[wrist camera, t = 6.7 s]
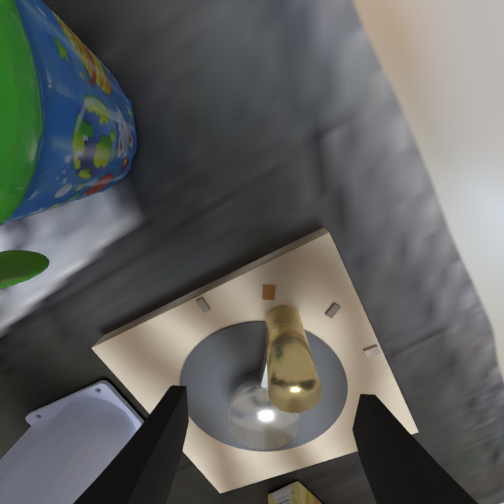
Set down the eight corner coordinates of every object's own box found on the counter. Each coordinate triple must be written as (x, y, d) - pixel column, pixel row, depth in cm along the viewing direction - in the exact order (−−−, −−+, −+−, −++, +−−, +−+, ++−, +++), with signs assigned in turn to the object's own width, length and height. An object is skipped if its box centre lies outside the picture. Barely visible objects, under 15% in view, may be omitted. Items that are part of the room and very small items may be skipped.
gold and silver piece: (286, 423, 19) (298, 523, 13) (225, 413, 19) (212, 510, 13) (323, 310, 16) (357, 382, 10) (249, 297, 15) (244, 362, 10)
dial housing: (222, 474, 24) (219, 496, 22) (104, 335, 19) (89, 350, 17) (407, 414, 21) (420, 434, 19) (322, 227, 16) (330, 233, 14)
